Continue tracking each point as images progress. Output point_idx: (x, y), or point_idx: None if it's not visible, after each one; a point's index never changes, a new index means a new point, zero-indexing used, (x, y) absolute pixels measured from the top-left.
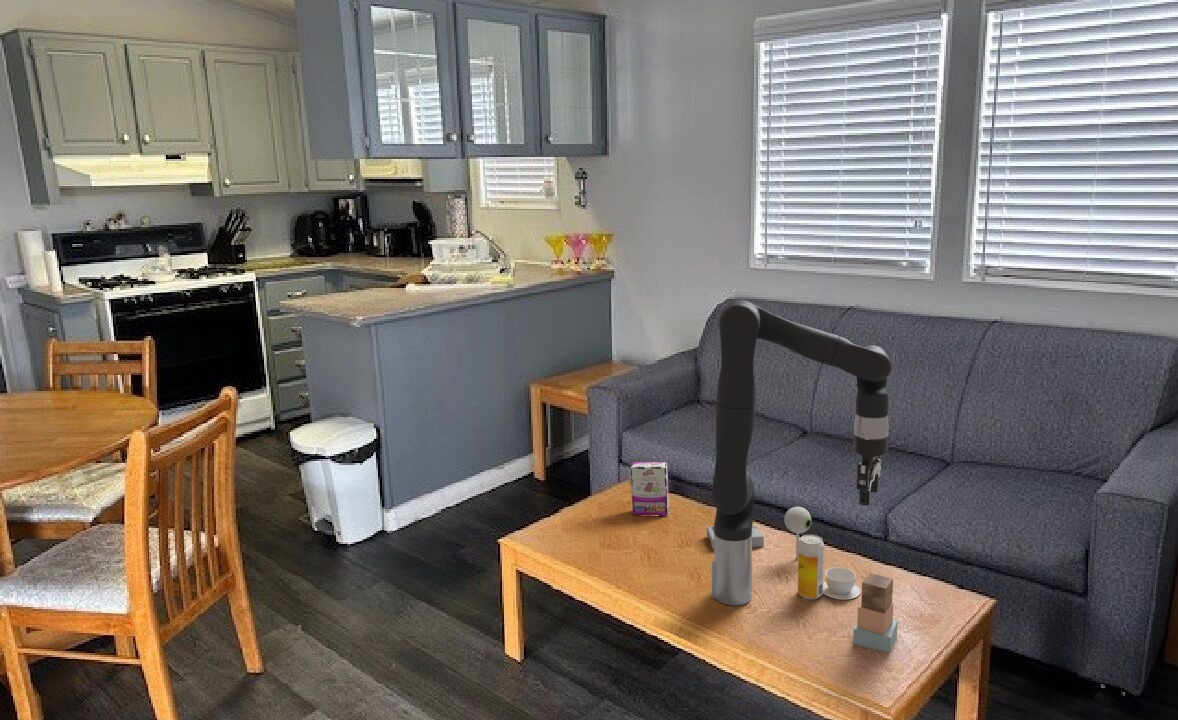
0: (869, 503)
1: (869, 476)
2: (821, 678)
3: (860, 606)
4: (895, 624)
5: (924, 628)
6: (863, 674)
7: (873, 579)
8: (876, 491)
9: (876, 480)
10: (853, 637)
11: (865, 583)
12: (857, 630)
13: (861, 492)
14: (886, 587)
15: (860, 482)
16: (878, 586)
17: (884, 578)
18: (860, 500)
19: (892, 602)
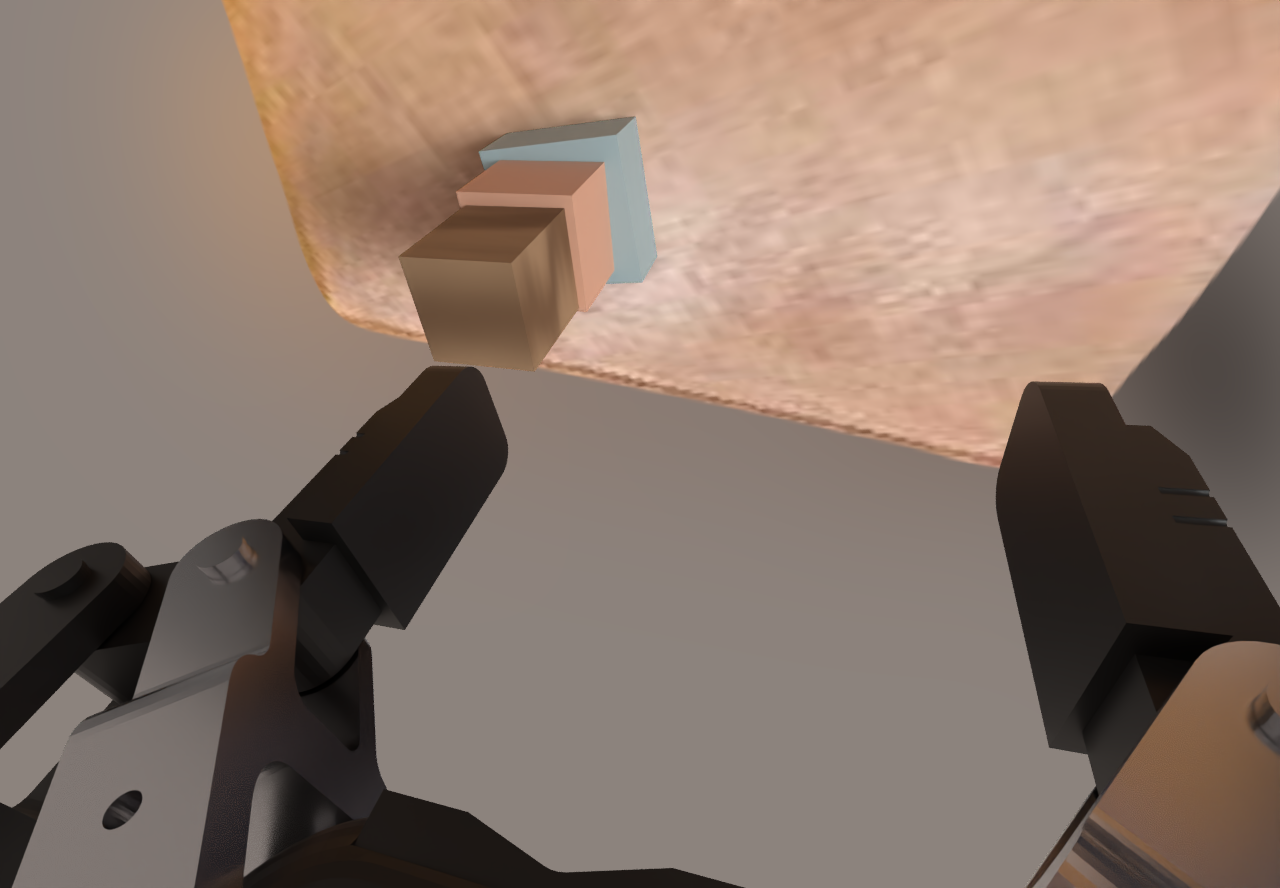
0: (496, 471)
1: (1189, 642)
2: (273, 113)
3: (465, 201)
4: (607, 282)
5: (746, 326)
6: (390, 223)
7: (465, 296)
8: (996, 500)
9: (1049, 679)
10: (496, 141)
11: (405, 272)
12: (484, 167)
13: (284, 523)
14: (443, 361)
15: (170, 654)
16: (425, 330)
17: (510, 338)
18: (370, 421)
19: (583, 308)
